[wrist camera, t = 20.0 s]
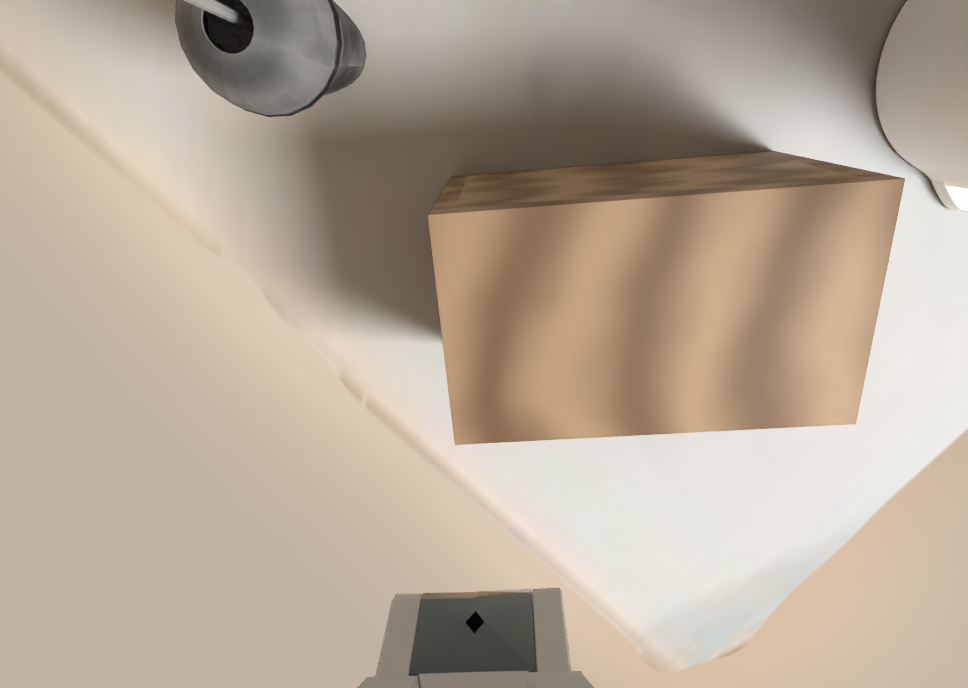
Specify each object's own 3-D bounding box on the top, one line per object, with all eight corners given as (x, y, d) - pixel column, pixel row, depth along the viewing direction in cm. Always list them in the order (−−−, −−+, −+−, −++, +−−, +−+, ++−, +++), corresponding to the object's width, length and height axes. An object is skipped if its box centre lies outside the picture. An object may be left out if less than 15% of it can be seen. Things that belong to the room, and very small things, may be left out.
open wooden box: (773, 150, 39) (904, 178, 26) (753, 328, 44) (855, 423, 31) (451, 176, 40) (427, 215, 28) (468, 346, 46) (454, 444, 33)
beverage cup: (319, 132, 40) (161, 164, 21) (252, 28, 37) (8, -37, 19) (408, 73, 38) (320, 53, 20) (344, -40, 36) (174, -183, 17)
